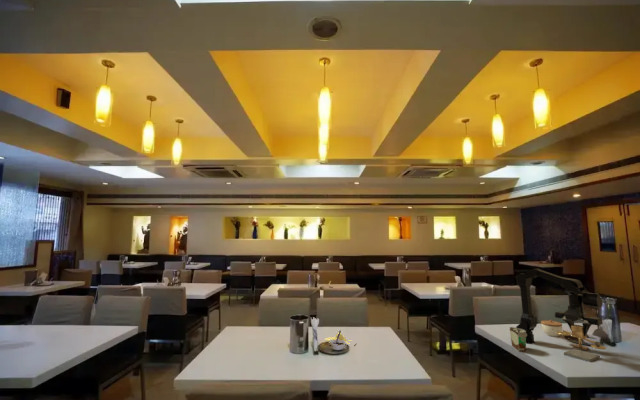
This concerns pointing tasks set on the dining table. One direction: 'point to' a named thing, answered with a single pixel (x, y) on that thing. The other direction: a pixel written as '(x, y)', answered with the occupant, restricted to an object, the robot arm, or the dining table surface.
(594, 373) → the dining table surface
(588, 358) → the grey stone square slab
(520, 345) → the food container
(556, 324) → the lidded jar
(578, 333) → the oak block
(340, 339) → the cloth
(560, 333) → the brass balance
